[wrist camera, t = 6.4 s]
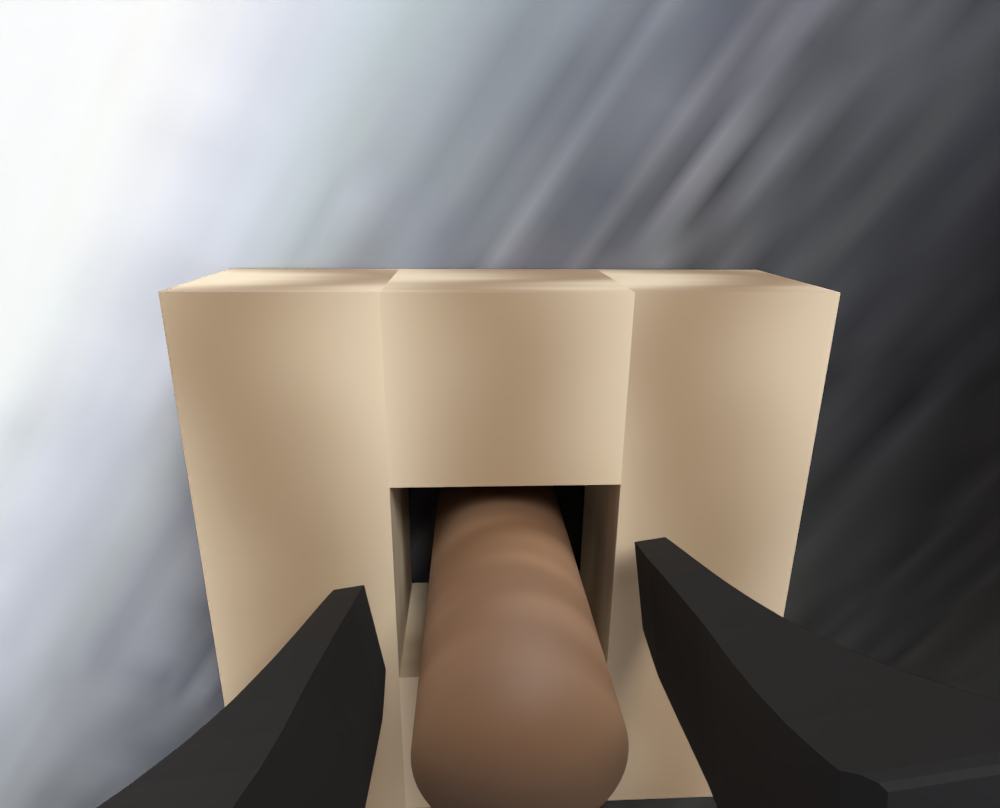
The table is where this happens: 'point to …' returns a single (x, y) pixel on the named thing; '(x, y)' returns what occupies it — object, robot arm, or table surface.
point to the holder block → (491, 450)
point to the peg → (511, 662)
